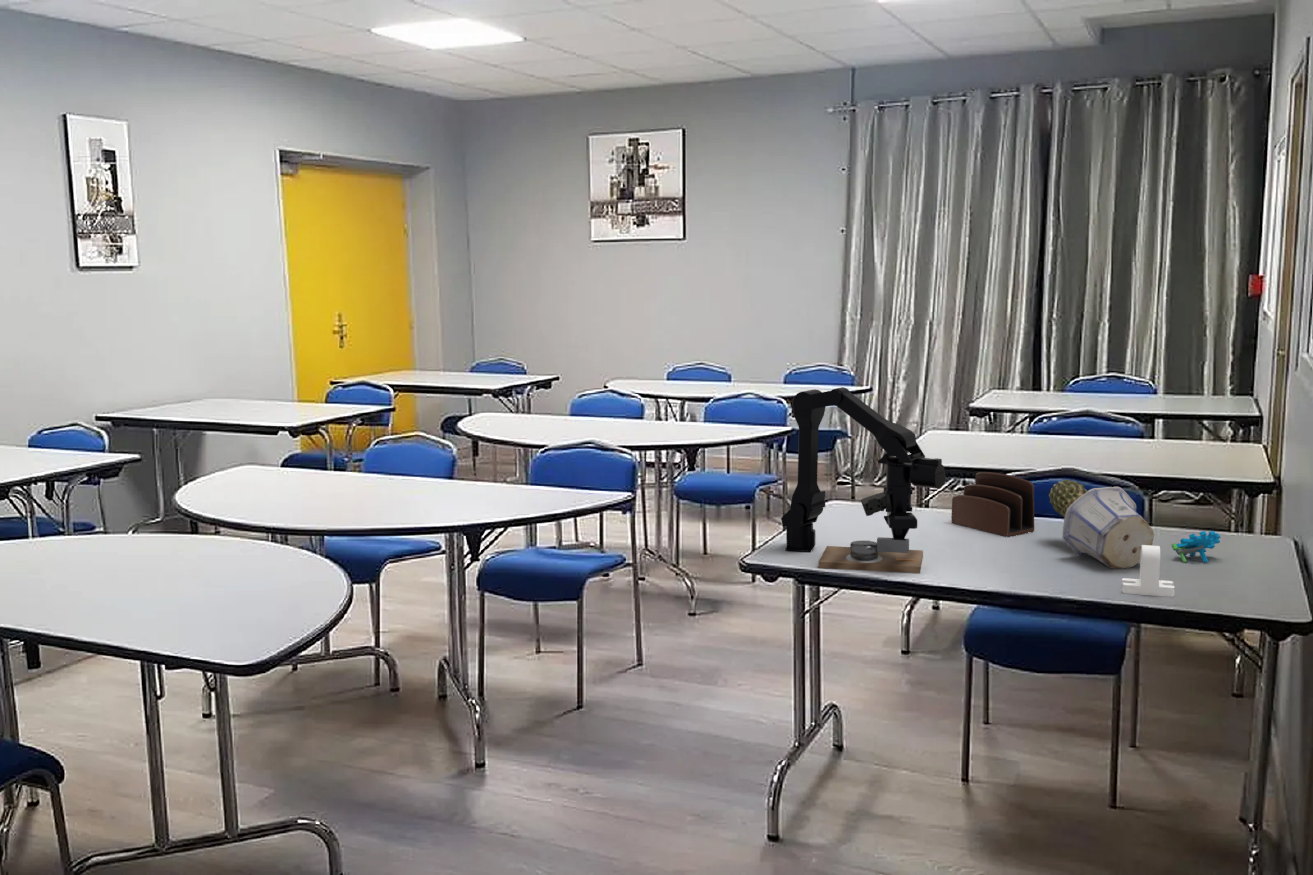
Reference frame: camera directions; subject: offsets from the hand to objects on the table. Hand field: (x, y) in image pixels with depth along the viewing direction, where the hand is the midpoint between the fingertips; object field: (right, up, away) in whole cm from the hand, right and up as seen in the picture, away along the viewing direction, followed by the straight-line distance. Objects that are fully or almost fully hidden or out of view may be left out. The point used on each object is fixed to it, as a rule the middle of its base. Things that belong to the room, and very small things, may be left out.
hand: (897, 548), depth 258 cm
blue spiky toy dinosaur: (+69, -3, -2) cm, 69 cm away
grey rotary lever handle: (-4, -2, -1) cm, 5 cm away
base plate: (-6, -4, +2) cm, 7 cm away
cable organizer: (+47, -7, -26) cm, 54 cm away
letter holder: (+32, +2, +33) cm, 46 cm away
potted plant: (+47, -2, +4) cm, 48 cm away
